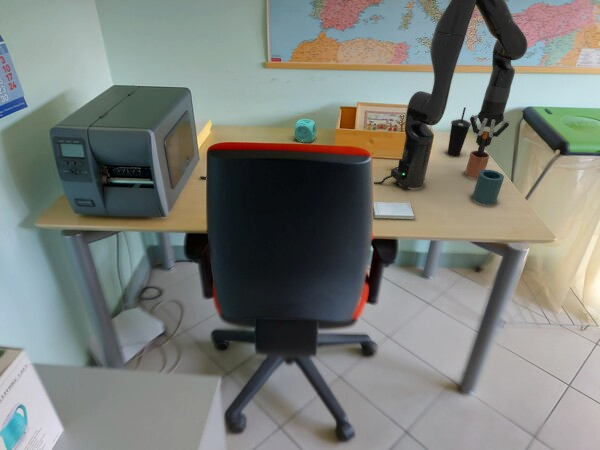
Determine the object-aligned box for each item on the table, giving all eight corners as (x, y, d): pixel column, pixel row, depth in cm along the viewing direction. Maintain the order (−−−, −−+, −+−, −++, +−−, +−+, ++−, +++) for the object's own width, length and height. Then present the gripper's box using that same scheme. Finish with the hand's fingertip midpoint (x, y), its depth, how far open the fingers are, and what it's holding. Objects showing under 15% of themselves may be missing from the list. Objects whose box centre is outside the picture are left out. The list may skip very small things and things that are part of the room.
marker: (475, 171, 153) (486, 133, 144) (471, 169, 155) (481, 131, 146) (479, 170, 154) (490, 132, 145) (475, 168, 155) (486, 130, 147)
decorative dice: (315, 137, 185) (316, 120, 181) (311, 143, 179) (312, 126, 175) (299, 135, 187) (299, 118, 183) (294, 141, 181) (294, 124, 176)
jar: (482, 208, 136) (491, 181, 130) (467, 197, 142) (474, 171, 136) (500, 203, 138) (509, 177, 133) (484, 193, 144) (492, 168, 138)
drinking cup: (460, 150, 175) (472, 104, 163) (464, 158, 168) (477, 111, 157) (442, 149, 175) (453, 104, 164) (446, 157, 169) (457, 110, 158)
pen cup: (473, 181, 152) (479, 159, 147) (461, 173, 157) (466, 152, 152) (486, 178, 154) (493, 156, 149) (474, 170, 159) (480, 149, 154)
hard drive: (409, 202, 135) (372, 201, 136) (414, 215, 129) (375, 214, 129) (408, 206, 136) (371, 205, 137) (413, 220, 130) (374, 218, 130)
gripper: (473, 97, 138) (461, 145, 148) (517, 104, 133) (501, 152, 143) (476, 92, 144) (464, 138, 154) (518, 98, 139) (503, 145, 148)
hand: (482, 144), depth 148 cm, fingers closed on marker, 2 cm apart
